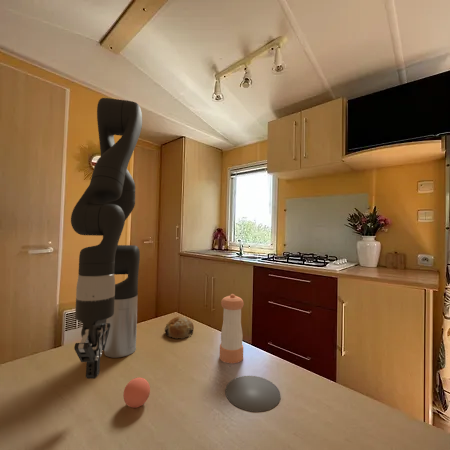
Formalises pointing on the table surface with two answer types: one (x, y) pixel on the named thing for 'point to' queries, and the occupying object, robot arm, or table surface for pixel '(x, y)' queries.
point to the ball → (136, 392)
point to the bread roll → (179, 327)
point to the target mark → (253, 393)
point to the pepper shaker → (231, 330)
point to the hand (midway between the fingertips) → (92, 376)
